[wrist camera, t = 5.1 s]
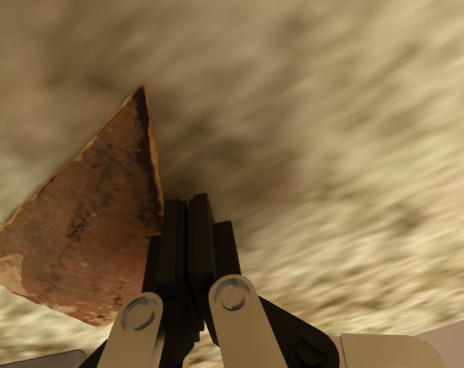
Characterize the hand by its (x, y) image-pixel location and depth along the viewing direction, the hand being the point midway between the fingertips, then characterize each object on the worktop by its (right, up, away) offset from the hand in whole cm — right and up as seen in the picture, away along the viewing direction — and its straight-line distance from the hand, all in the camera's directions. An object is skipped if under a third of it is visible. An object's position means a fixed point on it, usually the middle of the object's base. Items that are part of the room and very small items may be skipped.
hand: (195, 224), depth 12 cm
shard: (-5, 0, +1) cm, 5 cm away
